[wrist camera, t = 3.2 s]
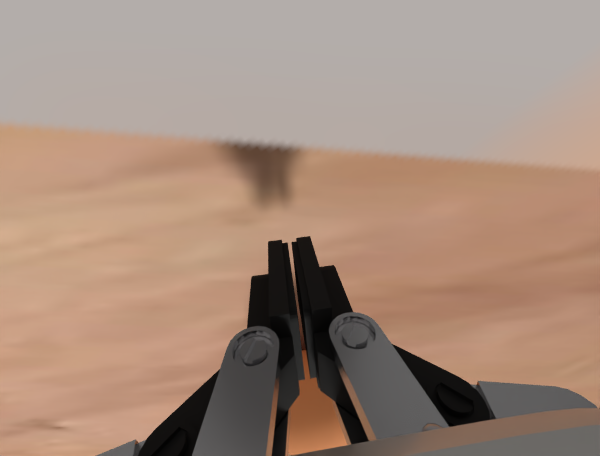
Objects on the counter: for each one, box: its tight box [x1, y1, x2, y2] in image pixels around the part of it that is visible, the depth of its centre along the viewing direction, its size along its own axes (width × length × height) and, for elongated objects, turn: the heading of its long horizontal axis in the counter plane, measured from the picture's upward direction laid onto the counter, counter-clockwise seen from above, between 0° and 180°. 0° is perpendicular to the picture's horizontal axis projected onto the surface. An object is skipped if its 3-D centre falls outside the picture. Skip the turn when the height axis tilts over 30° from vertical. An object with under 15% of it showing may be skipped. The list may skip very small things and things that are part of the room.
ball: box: [289, 349, 347, 455], centre depth 15 cm, size 6×6×6 cm
